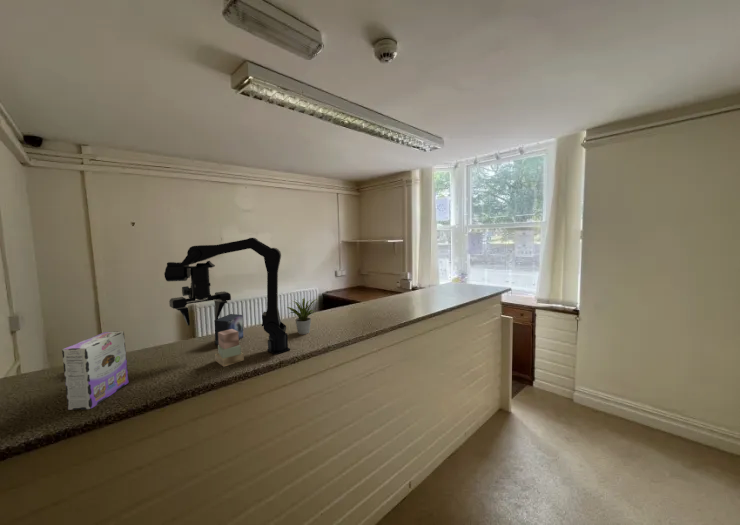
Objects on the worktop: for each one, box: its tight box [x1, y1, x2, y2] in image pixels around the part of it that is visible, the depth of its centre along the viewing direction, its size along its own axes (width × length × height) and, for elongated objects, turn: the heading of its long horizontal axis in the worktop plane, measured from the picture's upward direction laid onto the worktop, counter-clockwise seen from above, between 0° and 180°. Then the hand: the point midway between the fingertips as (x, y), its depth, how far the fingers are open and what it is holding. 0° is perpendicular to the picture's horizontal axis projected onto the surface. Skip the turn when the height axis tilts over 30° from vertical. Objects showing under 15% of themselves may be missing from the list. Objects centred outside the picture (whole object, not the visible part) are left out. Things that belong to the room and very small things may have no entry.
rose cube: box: [218, 329, 240, 349], centre depth 105 cm, size 5×5×5 cm
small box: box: [214, 313, 244, 346], centre depth 126 cm, size 11×6×10 cm, turn 168°
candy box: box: [61, 330, 129, 411], centre depth 82 cm, size 14×6×16 cm, turn 5°
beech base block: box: [214, 351, 245, 367], centre depth 106 cm, size 7×7×3 cm
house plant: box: [286, 297, 318, 335], centre depth 137 cm, size 14×14×16 cm
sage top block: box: [217, 344, 242, 358], centre depth 106 cm, size 6×6×3 cm
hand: (202, 322), depth 108 cm, fingers open, 9 cm apart
